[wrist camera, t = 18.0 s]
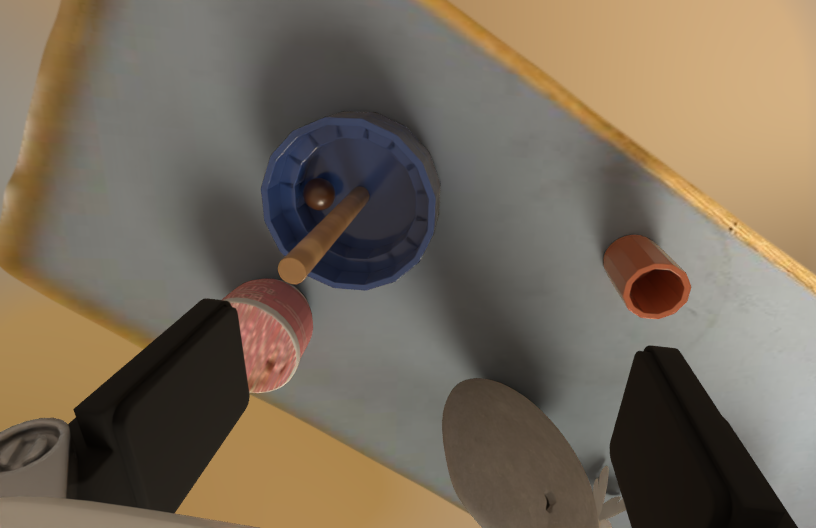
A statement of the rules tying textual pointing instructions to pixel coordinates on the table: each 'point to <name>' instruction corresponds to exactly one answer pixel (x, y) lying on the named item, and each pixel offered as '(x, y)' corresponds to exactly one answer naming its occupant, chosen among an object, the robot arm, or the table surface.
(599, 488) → the fairy figurine
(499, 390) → the grey-brown thick disc
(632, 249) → the holder
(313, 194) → the bead
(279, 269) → the stick
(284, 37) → the table surface
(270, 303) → the container
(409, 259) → the bowl
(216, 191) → the table surface
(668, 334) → the table surface
